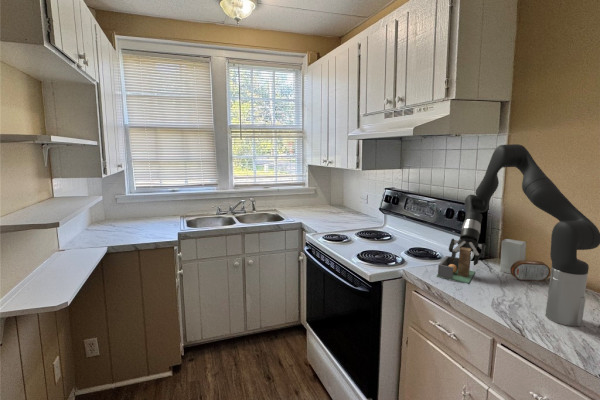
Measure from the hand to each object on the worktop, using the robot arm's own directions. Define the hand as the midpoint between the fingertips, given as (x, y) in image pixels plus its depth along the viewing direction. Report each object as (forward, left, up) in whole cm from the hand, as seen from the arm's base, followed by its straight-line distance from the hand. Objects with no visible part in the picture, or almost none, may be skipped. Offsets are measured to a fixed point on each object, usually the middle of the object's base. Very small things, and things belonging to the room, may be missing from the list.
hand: (463, 262), depth 146 cm
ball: (+5, -1, -4) cm, 6 cm away
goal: (+3, -1, -7) cm, 7 cm away
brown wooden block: (0, -1, -6) cm, 6 cm away
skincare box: (-17, -19, -7) cm, 27 cm away
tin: (-24, -13, -7) cm, 28 cm away
